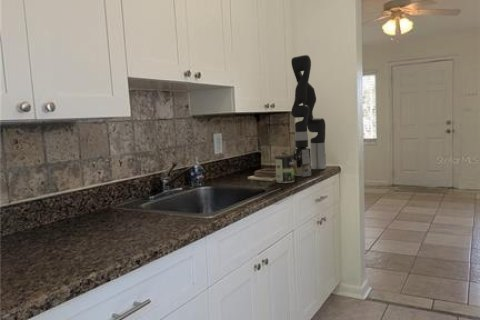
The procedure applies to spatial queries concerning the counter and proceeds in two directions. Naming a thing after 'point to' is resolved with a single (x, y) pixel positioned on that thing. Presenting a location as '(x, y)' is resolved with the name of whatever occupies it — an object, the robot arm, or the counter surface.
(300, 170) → the coffee box
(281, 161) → the coffee can
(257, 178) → the cradle board
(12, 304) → the counter surface
